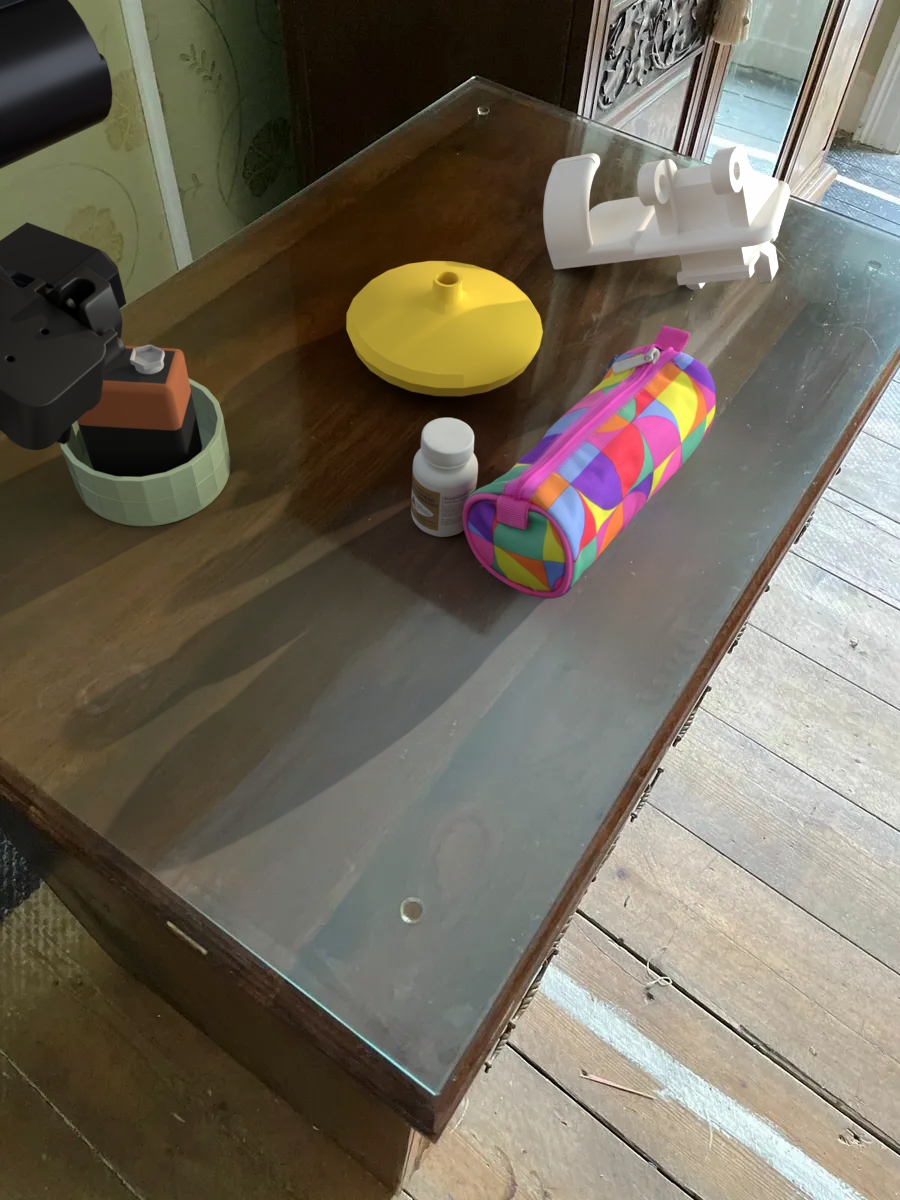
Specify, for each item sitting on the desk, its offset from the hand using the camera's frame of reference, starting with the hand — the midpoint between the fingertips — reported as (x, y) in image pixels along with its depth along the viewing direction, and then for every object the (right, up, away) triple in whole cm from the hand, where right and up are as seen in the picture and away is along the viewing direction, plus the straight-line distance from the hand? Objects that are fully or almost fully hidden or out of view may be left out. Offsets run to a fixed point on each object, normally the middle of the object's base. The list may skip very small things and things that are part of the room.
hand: (0, 494), depth 49 cm
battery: (+2, +4, +19) cm, 20 cm away
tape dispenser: (+41, +25, +38) cm, 61 cm away
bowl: (+2, +4, +19) cm, 20 cm away
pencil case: (+33, +1, +20) cm, 39 cm away
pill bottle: (+23, 0, +19) cm, 29 cm away
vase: (+23, +15, +29) cm, 40 cm away
